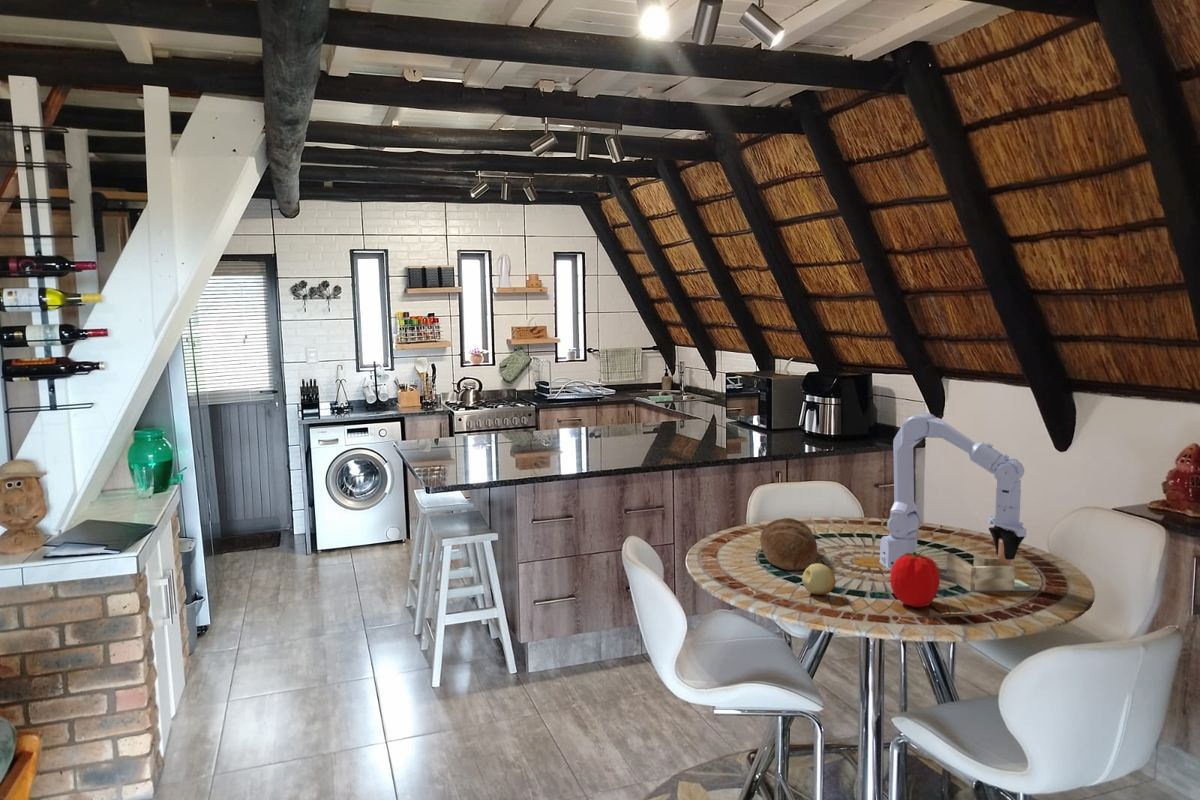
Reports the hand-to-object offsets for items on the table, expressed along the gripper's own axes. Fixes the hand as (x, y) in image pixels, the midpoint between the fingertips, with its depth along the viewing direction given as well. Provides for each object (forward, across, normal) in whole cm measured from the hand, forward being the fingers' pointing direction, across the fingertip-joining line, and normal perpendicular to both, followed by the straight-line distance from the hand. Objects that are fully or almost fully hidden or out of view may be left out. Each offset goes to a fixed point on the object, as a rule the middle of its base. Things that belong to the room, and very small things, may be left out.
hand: (1005, 557), depth 216 cm
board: (+8, +3, +3) cm, 9 cm away
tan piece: (+7, +2, +6) cm, 10 cm away
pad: (+7, 0, -3) cm, 8 cm away
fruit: (+8, -4, +51) cm, 52 cm away
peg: (+3, 0, 0) cm, 3 cm away
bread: (+8, +30, +49) cm, 58 cm away
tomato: (+8, -13, +30) cm, 34 cm away
